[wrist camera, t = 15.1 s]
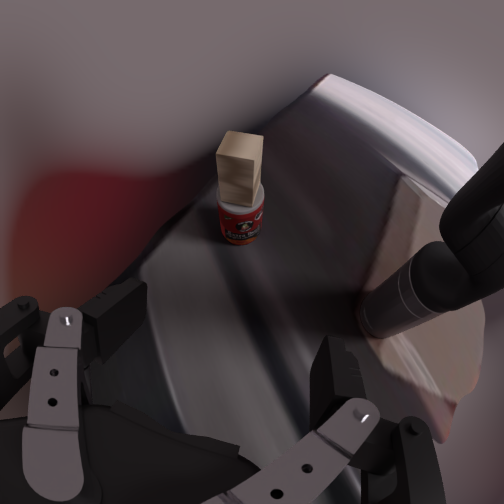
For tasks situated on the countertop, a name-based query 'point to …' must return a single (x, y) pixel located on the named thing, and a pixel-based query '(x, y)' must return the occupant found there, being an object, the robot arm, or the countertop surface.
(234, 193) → the oak block
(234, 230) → the canned food
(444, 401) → the countertop surface
